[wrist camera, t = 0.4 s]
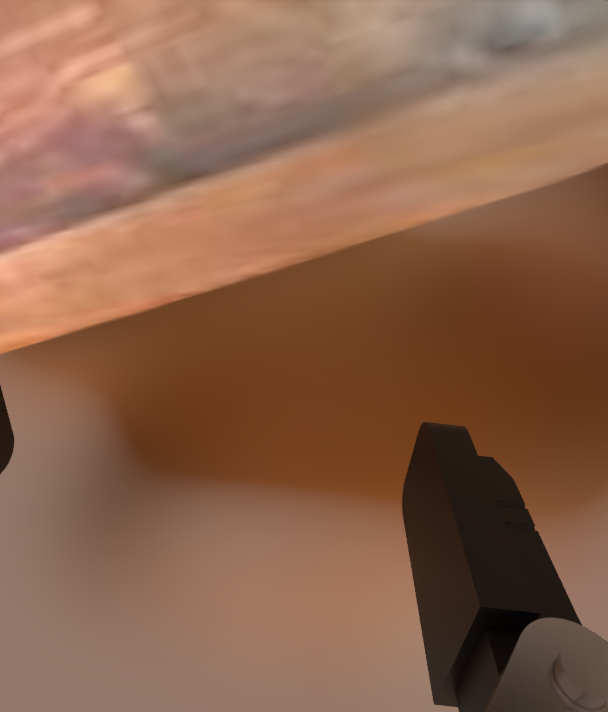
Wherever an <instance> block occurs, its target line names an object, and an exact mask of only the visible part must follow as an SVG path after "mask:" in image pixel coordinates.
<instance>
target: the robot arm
mask: <svg viewBox="0 0 608 712" xmlns="http://www.w3.org/2000/svg"><path fill="white" fill-rule="evenodd" d="M13 448H14V436H13V431H12V428H11V424H10V420H9V417H8V413H7V409H6V405H5V401H4V397H3V394H2V390H1V386H0V474H1V472H2V471H3V470H4V469H5V468H6V466H7V465H8V463H9V461H10V459H11V456H12V453H13ZM402 510H403V519H404V525H405V531H406V537H407V544H408V550H409V556H410V561H411V568H412V573H413V580H414V586H415V592H416V598H417V604H418V610H419V616H420V622H421V629H422V635H423V641H424V647H425V653H426V659H427V665H428V671H429V677H430V683H431V689H432V696H433V701H434V704H435V705H445V706H453V707H458V709H459V712H608V642H607V641H606V640H604V639H603V638H601V637H600V636H599V635H597V634H596V633H595V632H593V631H591V630H589V629H588V628H586V627H584V626H582V624H581V622H580V620H579V619H578V617H577V615H576V612H575V610H574V608H573V606H572V604H571V602H570V599H569V598H568V595H567V593H566V591H565V589H564V587H563V585H562V582H561V580H560V578H559V576H558V574H557V572H556V569H555V567H554V565H553V563H552V561H551V559H550V557H549V555H548V552H547V550H546V548H545V546H544V544H543V542H542V539H541V537H540V536H539V533H538V531H535V528H534V527H535V525H534V523H533V520H532V518H531V516H530V514H529V512H528V509H525V503H524V501H523V499H522V497H521V495H520V492H519V490H518V488H517V486H516V484H515V482H514V480H513V478H512V477H511V476H510V475H509V474H508V473H507V472H506V471H505V470H504V469H503V468H502V467H501V466H500V465H499V464H498V463H497V462H496V461H495V460H494V459H493V457H485V456H478V455H477V452H476V450H475V447H474V445H473V442H472V440H471V437H470V435H469V432H468V430H467V429H466V427H464V426H456V425H447V424H438V423H430V422H423V423H422V425H421V426H420V429H419V432H418V435H417V439H416V442H415V446H414V450H413V453H412V457H411V460H410V464H409V467H408V471H407V474H406V478H405V482H404V488H403V496H402Z"/></svg>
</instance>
